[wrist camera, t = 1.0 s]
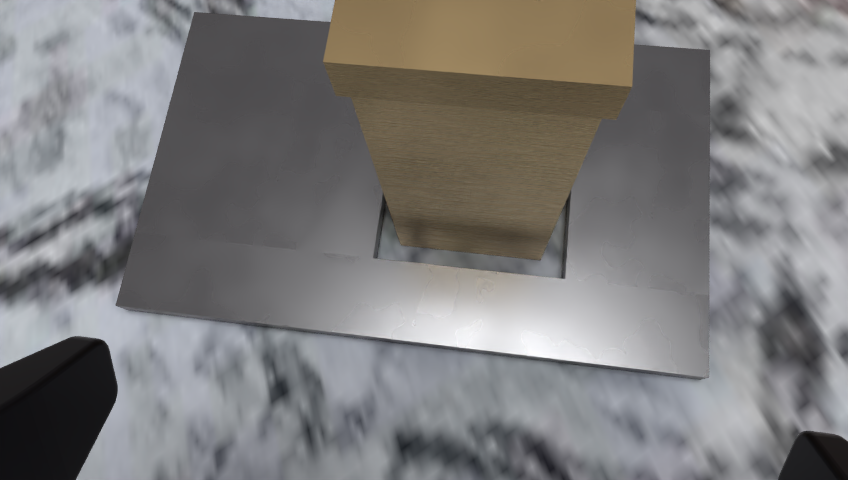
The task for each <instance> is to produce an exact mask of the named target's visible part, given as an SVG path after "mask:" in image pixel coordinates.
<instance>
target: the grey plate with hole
mask: <svg viewBox="0 0 848 480" xmlns="http://www.w3.org/2000/svg"><path fill="white" fill-rule="evenodd" d="M330 24H331V22H321V21H308V20H294V19H280V18H267V17H253V16H240V15H226V14H213V13H199V12H194V15H193V19H192V23H191V27H190V30H189V34H188V38H187V42H186V45H185V49H184V53H183V56H182V60H181V64H180V68H179V71H178V75H177V79H176V83H175V86H174V90H173V94H172V97H171V101H170V105H169V109H168V112H167V116H166V120H165V124H164V127H163V131H162V135H161V138H160V142H159V146H158V150H157V153H156V157H155V161H154V165H153V168H152V172H151V176H150V179H149V183H148V187H147V191H146V194H145V198H144V202H143V206H142V209H141V213H140V217H139V221H138V224H137V228H136V232H135V235H134V239H133V243H132V247H131V250H130V254H129V258H128V262H127V265H126V269H125V273H124V276H123V280H122V284H121V288H120V291H119V295H118V299H117V303H116V306H118V307H121V308H123V309H126V310H132V311H140V312H148V313H156V314H165V315H173V316H181V317H189V318H197V319H206V320H214V321H222V322H230V323H239V324H247V325H255V326H263V327H271V328H280V329H288V330H296V331H304V332H313V333H321V334H329V335H337V336H345V337H354V338H362V339H370V340H378V341H386V342H395V343H403V344H411V345H419V346H428V347H436V348H444V349H452V350H460V351H469V352H477V353H485V354H493V355H502V356H510V357H518V358H526V359H534V360H543V361H551V362H559V363H567V364H575V365H584V366H592V367H600V368H608V369H617V370H625V371H633V372H641V373H649V374H658V375H666V376H674V377H682V378H690V379H699V380H701V379H705V378H709V172H710V50H701V49H687V48H674V47H660V46H646V45H634V56H633V81H632V88H631V90H630V92H629V95H628V97H627V99H626V101H625V103H624V105H623V107H622V109H621V111H620V113H619V115H618V117H617V119H616V120H612V119H602V120H601V122H600V124H599V127H598V129H597V131H596V133H595V136H594V138H593V140H592V143H591V145H590V147H589V150H588V152H587V154H586V156H585V159H584V161H583V163H582V166H581V168H580V170H579V172H578V175H577V177H576V179H575V182H574V184H573V186H572V189H571V191H570V193H569V195H568V201H567V216H566V230H565V245H564V259H563V274H562V279H560V278H550V277H541V276H532V275H523V274H514V273H505V272H495V271H486V270H477V269H468V268H459V267H450V266H441V265H431V264H422V263H413V262H404V261H395V260H386V259H377V254H378V247H379V241H380V234H381V228H382V221H383V215H384V208H385V202H386V199H385V197H384V194H383V191H382V188H381V185H380V182H379V179H378V176H377V173H376V170H375V167H374V164H373V161H372V158H371V155H370V152H369V149H368V146H367V144H366V141H365V138H364V135H363V132H362V129H361V126H360V123H359V120H358V117H357V114H356V111H355V108H354V105H353V102H352V99H351V97H342V96H336V95H335V92H334V89H333V87H332V84H331V82H330V79H329V76H328V74H327V71H326V69H325V66H324V63H323V59H324V54H325V49H326V44H327V39H328V34H329V29H330Z"/></svg>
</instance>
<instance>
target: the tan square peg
mask: <svg viewBox="0 0 848 480" xmlns="http://www.w3.org/2000/svg"><path fill="white" fill-rule="evenodd" d="M635 7H636V0H335V4H334V9H333V14H332V19H331V24H330V29H329V34H328V39H327V44H326V49H325V54H324V59H323V63H324V66H325V69H326V71H327V74H328V76H329V79H330V82H331V84H332V87H333V89H334V92H335V95H336V96H342V97H351V99H352V102H353V105H354V108H355V111H356V114H357V117H358V120H359V123H360V126H361V129H362V132H363V135H364V138H365V141H366V144H367V146H368V149H369V152H370V155H371V158H372V161H373V164H374V167H375V170H376V173H377V176H378V179H379V182H380V185H381V188H382V191H383V194H384V197H385V199H386V202H387V205H388V208H389V211H390V214H391V217H392V220H393V223H394V226H395V229H396V232H397V235H398V238H399V241H400V244H401V245H403V246H413V247H422V248H431V249H441V250H450V251H459V252H469V253H478V254H487V255H497V256H506V257H515V258H525V259H534V260H541V257H542V255H543V253H544V251H545V248H546V246H547V244H548V241H549V239H550V237H551V234H552V232H553V230H554V228H555V225H556V223H557V221H558V218H559V216H560V214H561V212H562V209H563V207H564V205H565V202H566V200H567V198H568V195H569V193H570V191H571V189H572V186H573V184H574V182H575V179H576V177H577V175H578V172H579V170H580V168H581V166H582V163H583V161H584V159H585V156H586V154H587V152H588V150H589V147H590V145H591V143H592V140H593V138H594V136H595V133H596V131H597V129H598V127H599V124H600V122H601V120H602V119H612V120H616V119H617V117H618V115H619V113H620V111H621V109H622V107H623V105H624V103H625V101H626V99H627V97H628V95H629V92H630V90H631V88H632V81H633V56H634V31H635Z"/></svg>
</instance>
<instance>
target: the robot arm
mask: <svg viewBox="0 0 848 480" xmlns="http://www.w3.org/2000/svg"><path fill="white" fill-rule="evenodd" d="M117 392H118V386H117V381H116V376H115V372H114V368H113V364H112V359H111V355H110V351H109V347H108V345H107V344H106V343H105V341H103V340H101V339H96V338H88V337H81V336H74V337H70V338H68V339H65V340H63V341H61V342H59V343H56V344H54V345H52V346H50V347H47V348H45V349H43V350H41V351H38V352H36V353H34V354H31V355H29V356H27V357H25V358H22V359H20V360H18V361H16V362H13V363H11V364H9V365H7V366H4V367H2V368H0V480H76V478H77V476H78V474H79V472H80V470H81V468H82V466H83V465H84V463H85V461H86V459H87V457H88V455H89V453H90V451H91V449H92V447H93V445H94V443H95V441H96V439H97V437H98V435H99V433H100V431H101V429H102V427H103V425H104V423H105V421H106V420H107V418H108V416H109V414H110V412H111V410H112V408H113V406H114V403H115V401H116V398H117ZM778 480H848V441H847V440H845V439H844V438H842V437H841V436H838V435H835V434H830V433H822V432H814V431H804V432H801V433H800V434H799V435H798V436H797V437H796V439H795V441H794V443H793V445H792V448H791V450H790V452H789V454H788V457H787V459H786V461H785V463H784V466H783V468H782V470H781V472H780V475H779V478H778Z"/></svg>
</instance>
